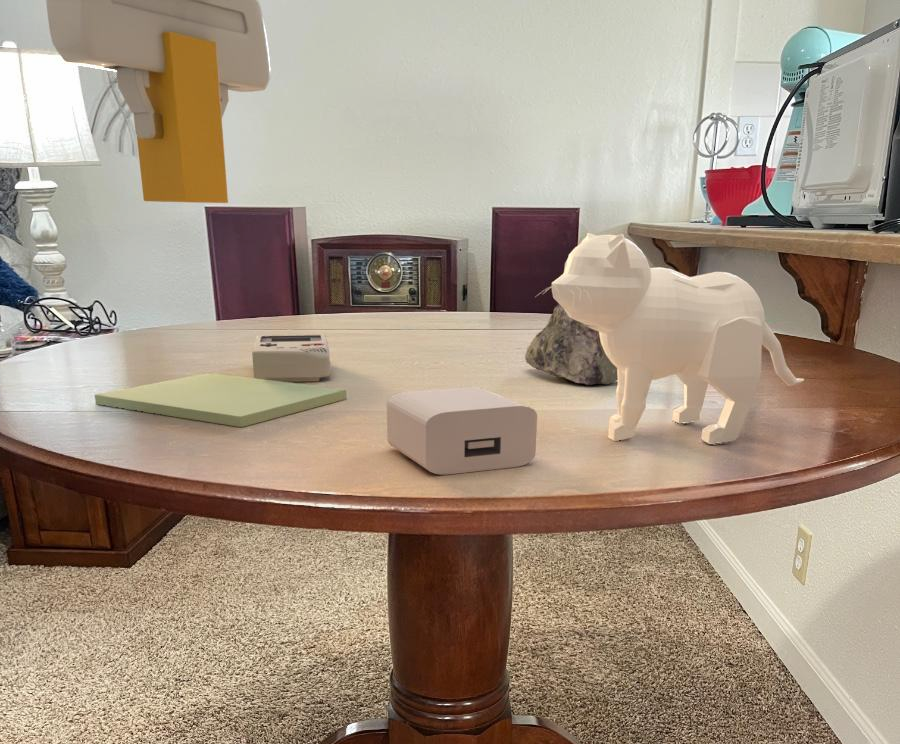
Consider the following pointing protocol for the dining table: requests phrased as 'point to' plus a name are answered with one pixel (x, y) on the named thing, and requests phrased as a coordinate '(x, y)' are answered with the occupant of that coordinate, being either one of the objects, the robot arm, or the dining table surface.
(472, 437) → the charger
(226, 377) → the mat
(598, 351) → the mineral rock
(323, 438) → the dining table surface
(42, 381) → the dining table surface
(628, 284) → the cat figurine
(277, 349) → the handheld gaming device
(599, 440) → the dining table surface
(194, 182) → the block
